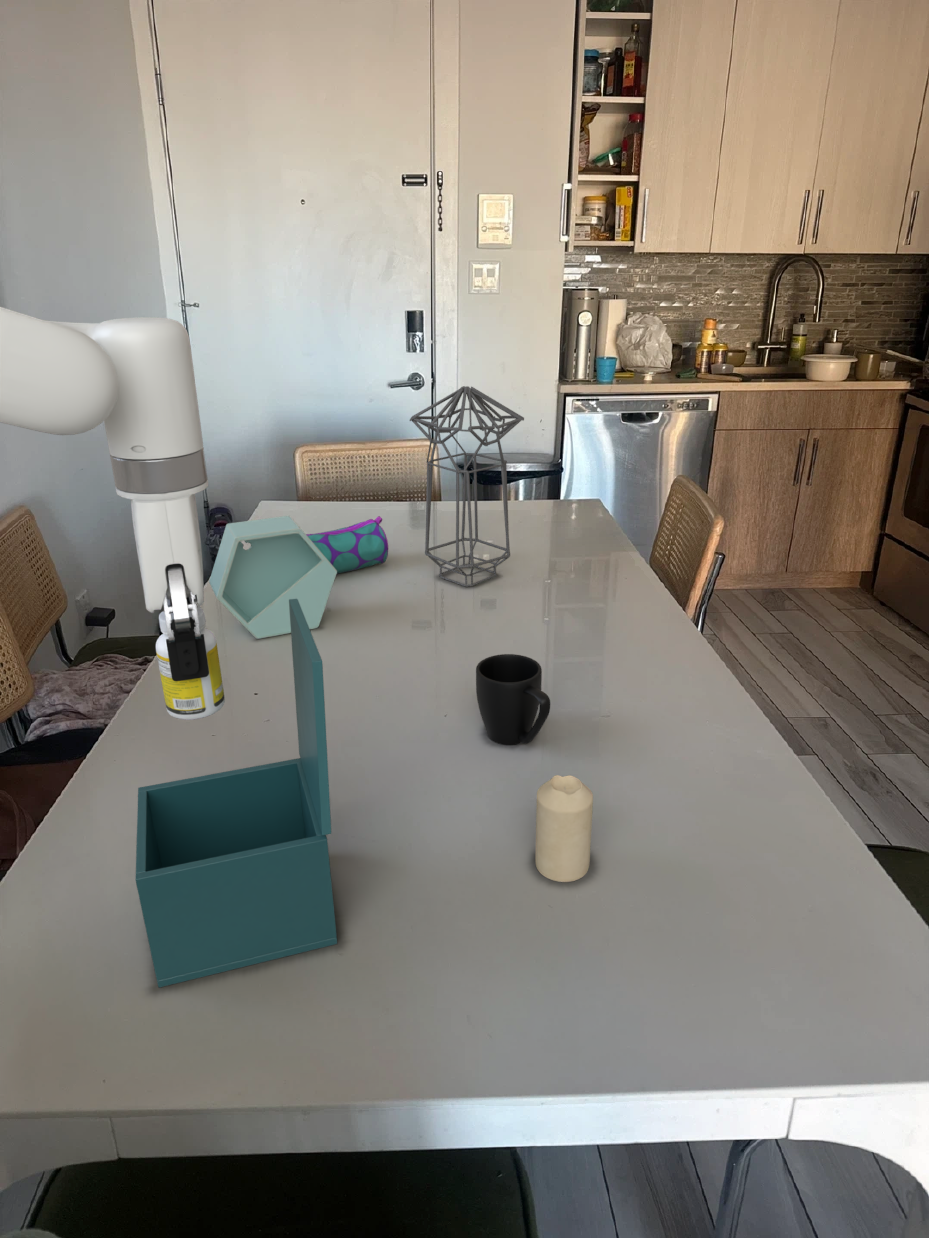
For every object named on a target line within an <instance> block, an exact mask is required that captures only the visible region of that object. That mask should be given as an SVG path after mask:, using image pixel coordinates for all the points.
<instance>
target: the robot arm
mask: <svg viewBox="0 0 929 1238" xmlns="http://www.w3.org/2000/svg"><path fill="white" fill-rule="evenodd" d="M198 399H199V398H198V392H197V385H196V377H195V368H194V360H193V353H192V346H191V341H190V336H189V332H188V331H187V329H186V327H185V326H184V324H182V323H181V322H180V321H178V320H176V319H172V318H169V317H159V316H158V317H155V316H154V317H153V316H150V317H149V316H143V317H140V316H139V317H122V318H113V319H108V320H104V321H101V322H72V321H58V320H46V319H41V318H38V317H35V316H31V315H29V314H26V313H22V312H19V311H15V310H12V309H9V308H6V307H3V306H0V423H1V424H4V425H9V426H13V427H17V428H18V427H19V428H22V429H26V430H31V431H34V432H39V433H44V434H48V435H49V434H50V435H55V436H74V435H75V436H76V435H79V434H83V433H87V432H88V431H91V430H93V429H96V427H98V426H100V425H101V424H103V423H104V428H105V434H106V435H105V436H106V440H107V445H108V452H109V458H110V464H111V469H112V475H113V476H112V477H113V480H114V481H113V482H114V487H115V493H116V496H118V497H120V498H123V499H127V500H130V507H131V519H132V525H133V533H134V540H135V547H136V552H137V559H138V565H139V570H140V577H141V583H142V589H143V597H144V604H145V609H146V611H148V612H149V613H151V614H155V611H161V610H162V608H163V611H164V613H165V619H166V625H167V632H168V639H166V644H167V650H168V656H169V663H170V669H171V675H172V679H173V680H174V681H183V680H190V679H196V678H203V677H207V676H208V675H209V669H208V661H207V654H206V647H205V640H204V634H201V632H200V625H199V618H198V611H197V608H198V607H201V606H202V605H203V604H204V602H205V586H204V585H205V584H204V566H203V550H202V539H201V531H200V523H199V515H198V507H197V499H196V494H198V493H201V492H203V491H205V490H206V489H207V488H208V487H209V479H208V473H207V471H208V470H207V465H206V456H205V455H206V454H205V449H204V448H205V447H204V440H203V439H204V438H203V433H202V432H203V431H202V425H201V424H202V423H201V417H200V409H199V401H198ZM197 606H198V607H197ZM188 611H191V612H192V617H189V612H188ZM171 613H174V619H172V616H171Z"/></svg>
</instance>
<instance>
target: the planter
mask: <svg viewBox="0 0 929 1238" xmlns="http://www.w3.org/2000/svg"><path fill="white" fill-rule="evenodd" d="M242 542H245V543H246V544H250V546H249V547H248V548H247V549H245V548H244V543H242ZM216 554H217V555H216V557H215V561H214V564H213V568H212V571H211V574H210V577H209V581H208V583H209V585H210V587H211V589H212V591H213V594H214V596H215V598H216V599H217V601H218V602H219V603H220V604H221V605H222V606H223V607H224V608H225V609H227V611H228V612H229V613H230V614H231V615H232V616H233V617H234V618H235V619H236V620H237V621H238V622H239V623H240V624H241V625H242V626H243V627H244V628H245V629H246V630H247V631H248V632H249V633H250V634H251V635H252V637H254V638H255V639H257V640H260V639H265V638H270V637H276V636H282V635H286V634H287V635H288V634H291V625H290V610H289V599H298V601H299V604H300V606H301V609H302V611H303V614H304V616H305V619H306V621H307V624H308V626H309V629H310V630H313V629H318V628H319V626H320V624H321V621H322V618H323V615H324V612H325V609H326V606H327V604H328V600H329V597H330V594H331V592H332V588H333V586H334V583H335V581H336V577H337V570H336V569H335V568H334V567H333V565H332V564H331V563H330V562H329V561H328V560H327V558H326V557H325V556H324V555H323V554H322V553H321V551H320V550H319V549H318V548H317V547H316V546H315V544H314V543H313V542H312V541H311V540H310V539H309V537H308V536H307V535H306V533H305V532H304V530H303V529H302V528H301V527H300V526H299V525H298V523H297V522H296V521H295V520H294V518H292V516H291V515H282V516H276V517H267V518H260V519H252V520H245V521H238V522H237V521H236V522H229V523H226V525H225V528H224V531H223V535H222V537H221V541H220V545H219V547H218V551H217V553H216Z"/></svg>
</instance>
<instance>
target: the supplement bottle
mask: <svg viewBox="0 0 929 1238" xmlns="http://www.w3.org/2000/svg"><path fill="white" fill-rule="evenodd" d="M197 607H198V605H197ZM197 611H198V618H199V625H200V632H201V634H204V640H205V647H206V654H207V661H208V669H209V675H208V676H207V677H203V678H196V679H190V680H183V681H174V680H173V679H172V675H171V669H170V663H169V656H168V650H167V644H166V639H168V632H167V625H166V619H165V613H164V610H162V611H161V612H160V613H159V614H158V623H159V628H160V632H161V633H162V634H161V635H159V637H158V638H157V639H156V642H155V653H156V658H157V663H158V669H159V676H160V680H161V687H162V692H163V698H164V703H165V708H166V711H167V713H168V715H170V716H171V717H172V718H175V719H177V720H182V721H183V720H184V721H192V720H193V721H194V720H200V719H204V718H207V717H210V716H212V715H214V714H216V713H217V712H219V711H221V709H222V708H223V707H224V705H225V701H226V697H225V692H224V691H225V690H224V684H223V678H222V671H221V670H222V669H221V664H220V663H221V662H220V656H219V649H218V642H217V638H216V635H215V633H214V632H213V631H212V630H211V629H209V628H207V627H206V626H207V625H206V624H207V623H206V622H207V620H206V615H205V610H204V608H202V607H201V606H199V607H198V608H197ZM188 612H189V617H192V612H191V611H188ZM171 616H172V619H174V613H171Z"/></svg>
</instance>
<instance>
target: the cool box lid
mask: <svg viewBox="0 0 929 1238" xmlns="http://www.w3.org/2000/svg"><path fill="white" fill-rule="evenodd" d="M289 610H290V625H291V633H290V638H291V651H292V652H291V655H292V669H293V684H294V697H295V713H296V714H295V715H296V727H297V728H296V729H297V742H298V753H299V758H301V762H302V765H303V769H304V773H305V776H306V780H307V783H308V787H309V790H310V794H311V797H312V801H313V804H314V808H315V812H316V815H317V819H318V822H319V826H320V829H321V833H322V835H326V836H328V835H331V834H332V819H331V801H330V800H331V799H330V783H329V781H330V779H329V762H328V761H329V760H328V742H327V726H326V725H327V724H326V723H327V721H326V706H325V705H326V704H325V683H324V668H323V667H324V666H323V664H324V663H323V659H322V657H321V654H320V652H319V649H318V647H317V644H316V642H315V640H314V636H313V634H312V632H311V629H309V626H308V624H307V621H306V619H305V616H304V614H303V611H302V609H301V606H300V604H299V601H298V599H289Z"/></svg>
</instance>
